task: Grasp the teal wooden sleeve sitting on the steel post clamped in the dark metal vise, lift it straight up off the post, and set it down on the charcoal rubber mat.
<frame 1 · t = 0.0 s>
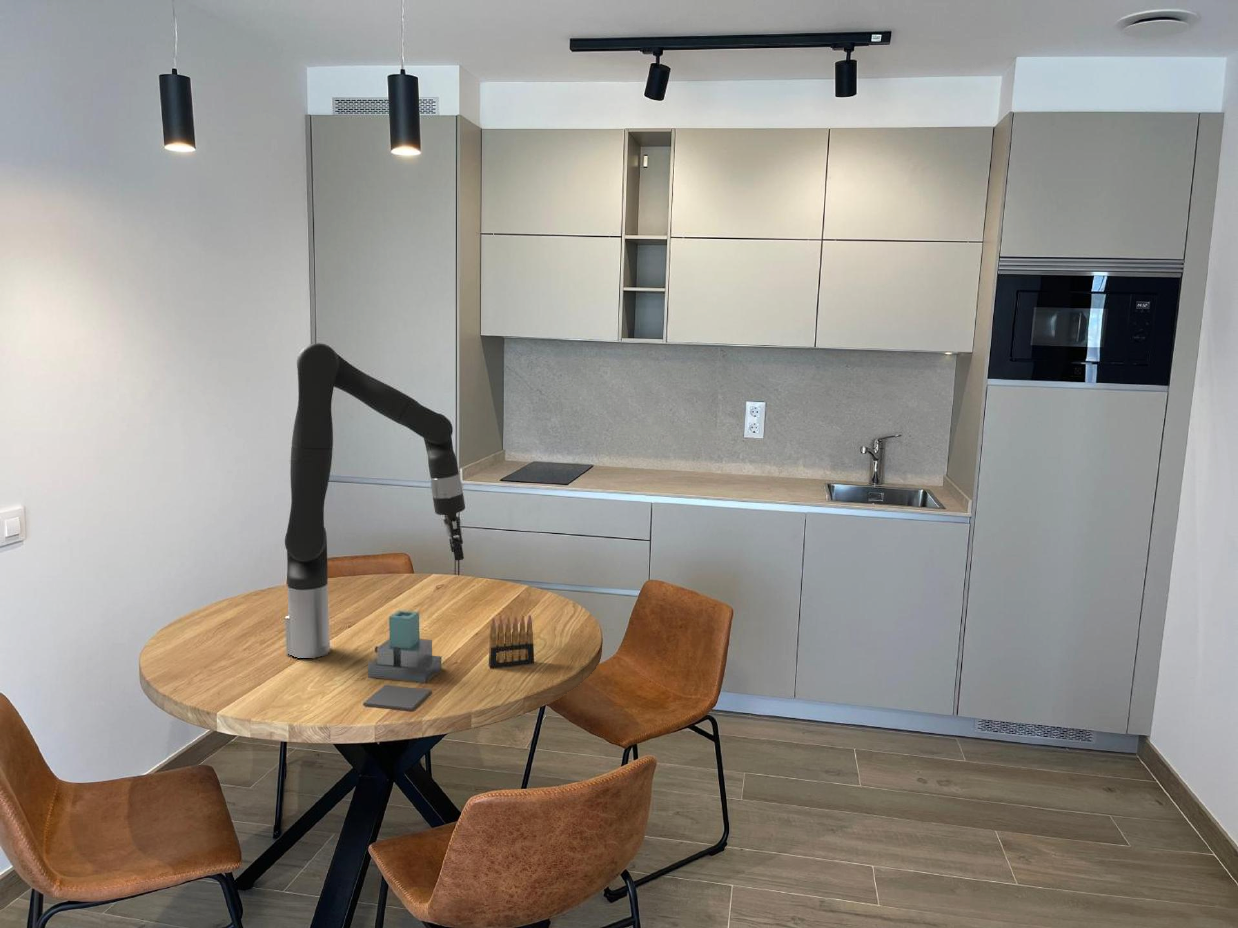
hand: (457, 555, 225), 22 cm above the table, tool pointing down, fingers open, 8 cm apart
sleeve: (404, 643, 205), point 7 cm above the table, touching vise
vise: (405, 672, 206), on the table
mat: (398, 698, 191), on the table
ammunition clip: (511, 665, 212), on the table
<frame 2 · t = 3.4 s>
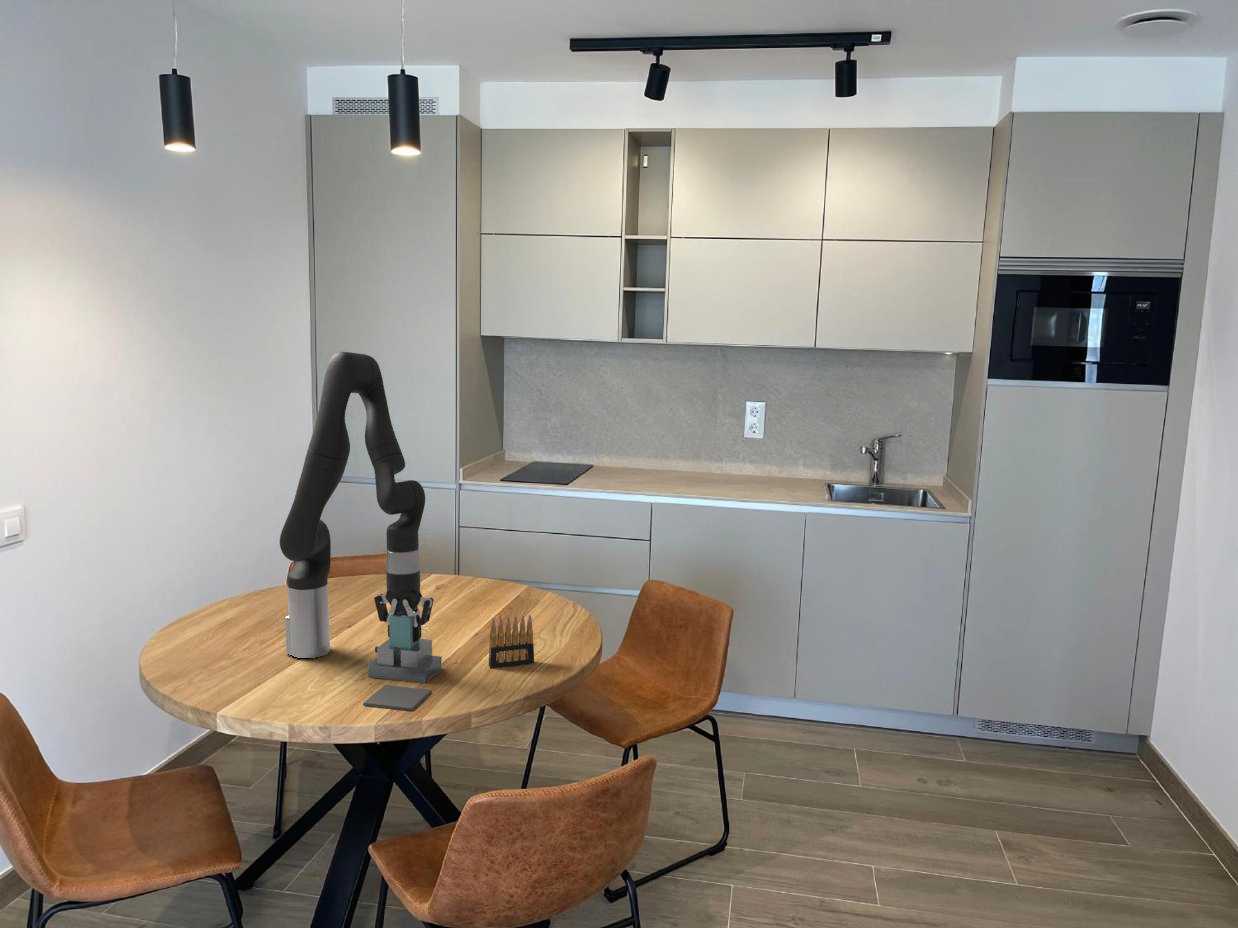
hand: (404, 639, 205), 8 cm above the table, tool pointing down, fingers closed on sleeve, 5 cm apart
sleeve: (404, 643, 205), point 7 cm above the table, touching gripper, vise
everything else where it was.
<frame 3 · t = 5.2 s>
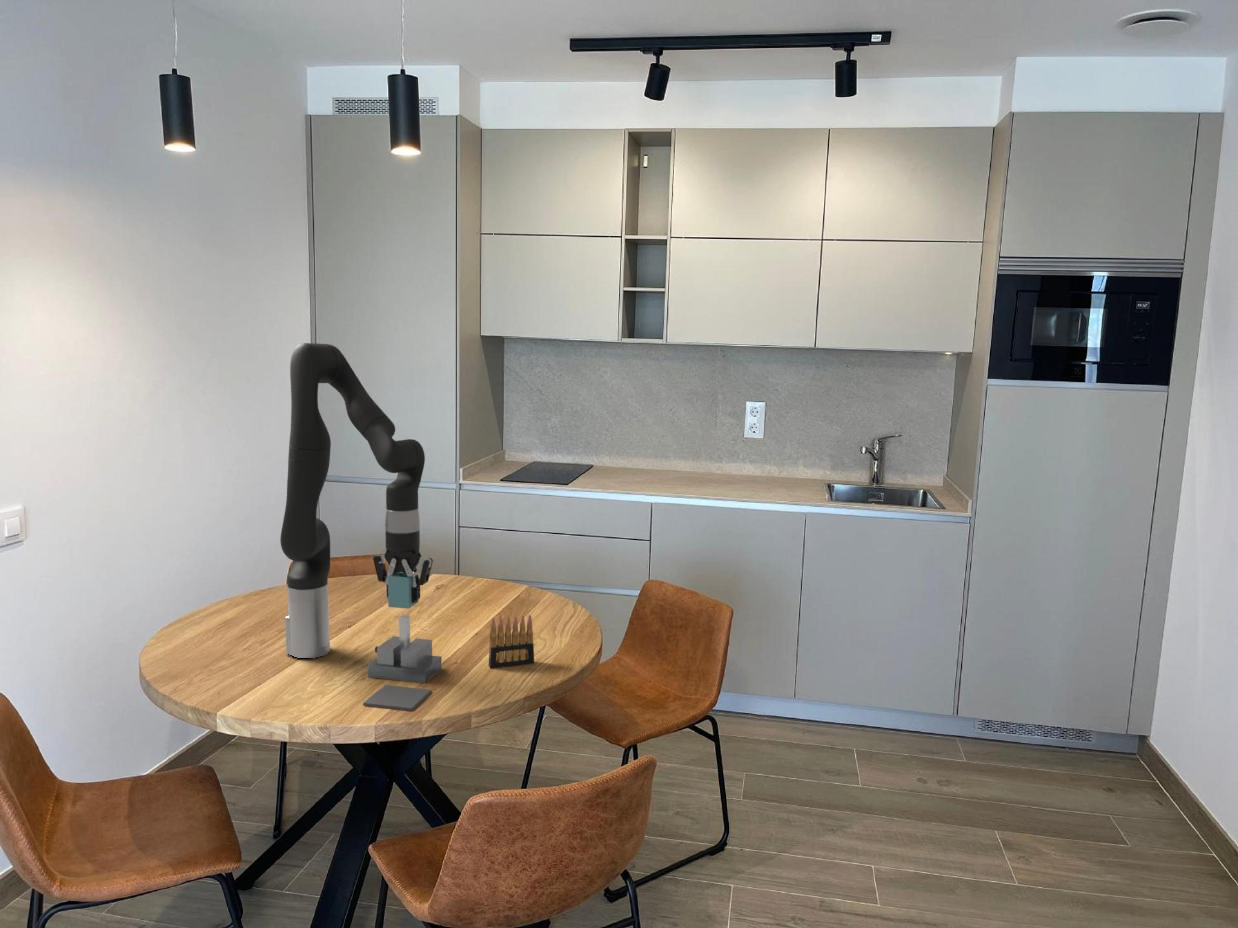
hand: (403, 600, 203), 17 cm above the table, tool pointing down, fingers closed on sleeve, 5 cm apart
sleeve: (403, 604, 204), point 16 cm above the table, touching gripper
everything else where it was.
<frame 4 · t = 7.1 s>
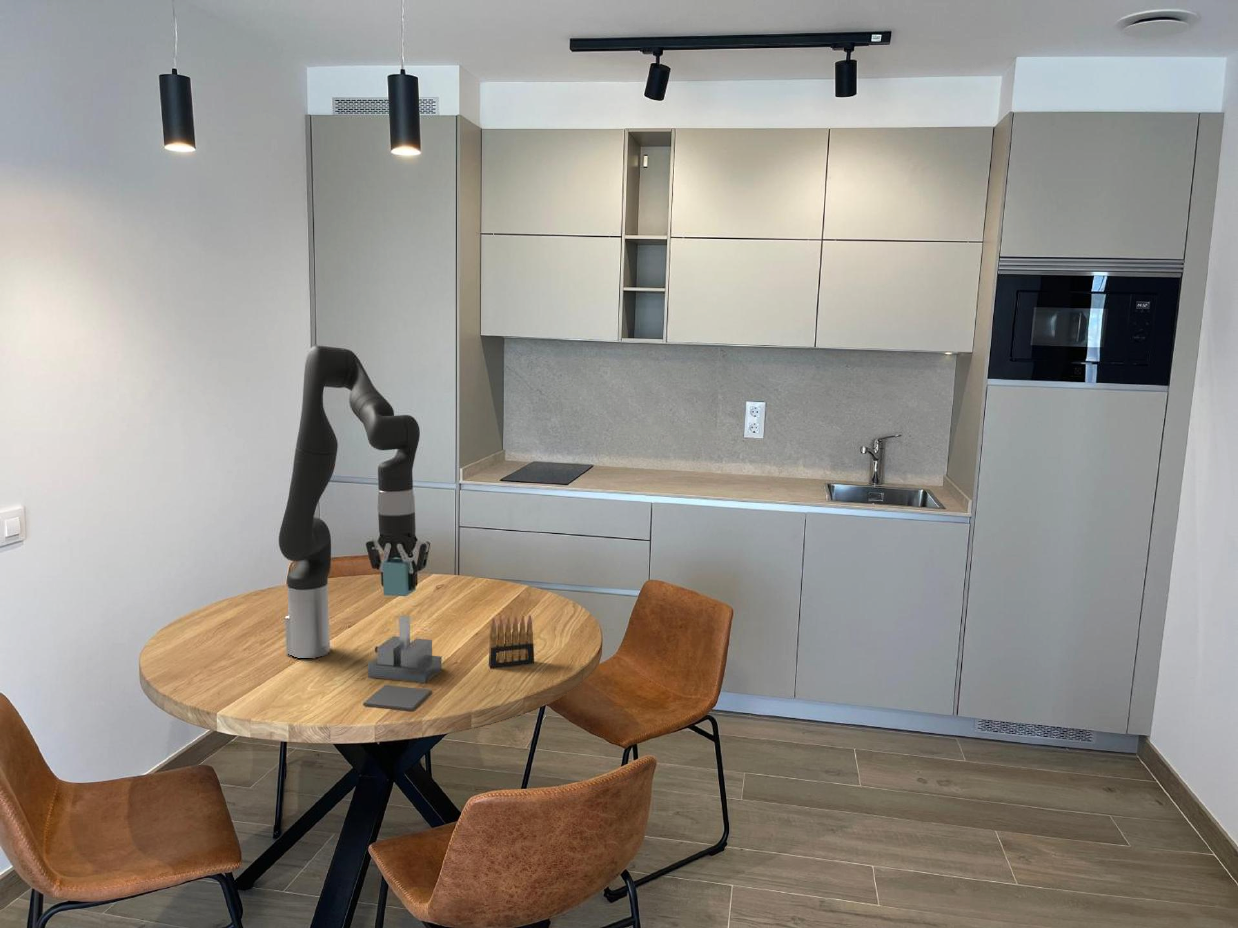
hand: (399, 588, 190), 24 cm above the table, tool pointing down, fingers closed on sleeve, 5 cm apart
sleeve: (399, 592, 190), point 23 cm above the table, touching gripper
everything else where it was.
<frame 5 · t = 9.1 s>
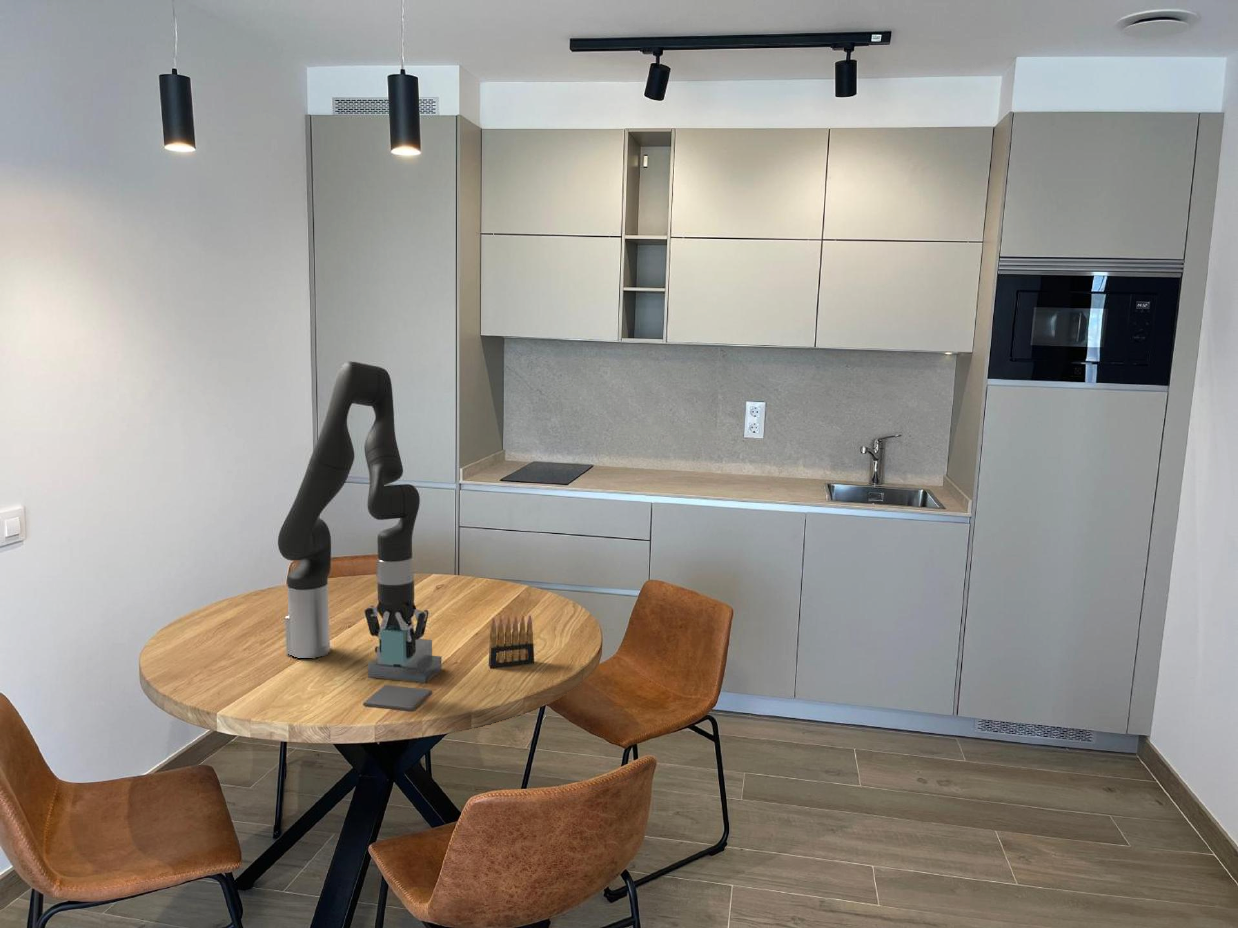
hand: (397, 655, 190), 10 cm above the table, tool pointing down, fingers closed on sleeve, 5 cm apart
sleeve: (397, 659, 190), point 9 cm above the table, touching gripper
everything else where it was.
when the fingers open (3 cm above the table, at t = 10.9 s): sleeve drops 2 cm, resting on mat.
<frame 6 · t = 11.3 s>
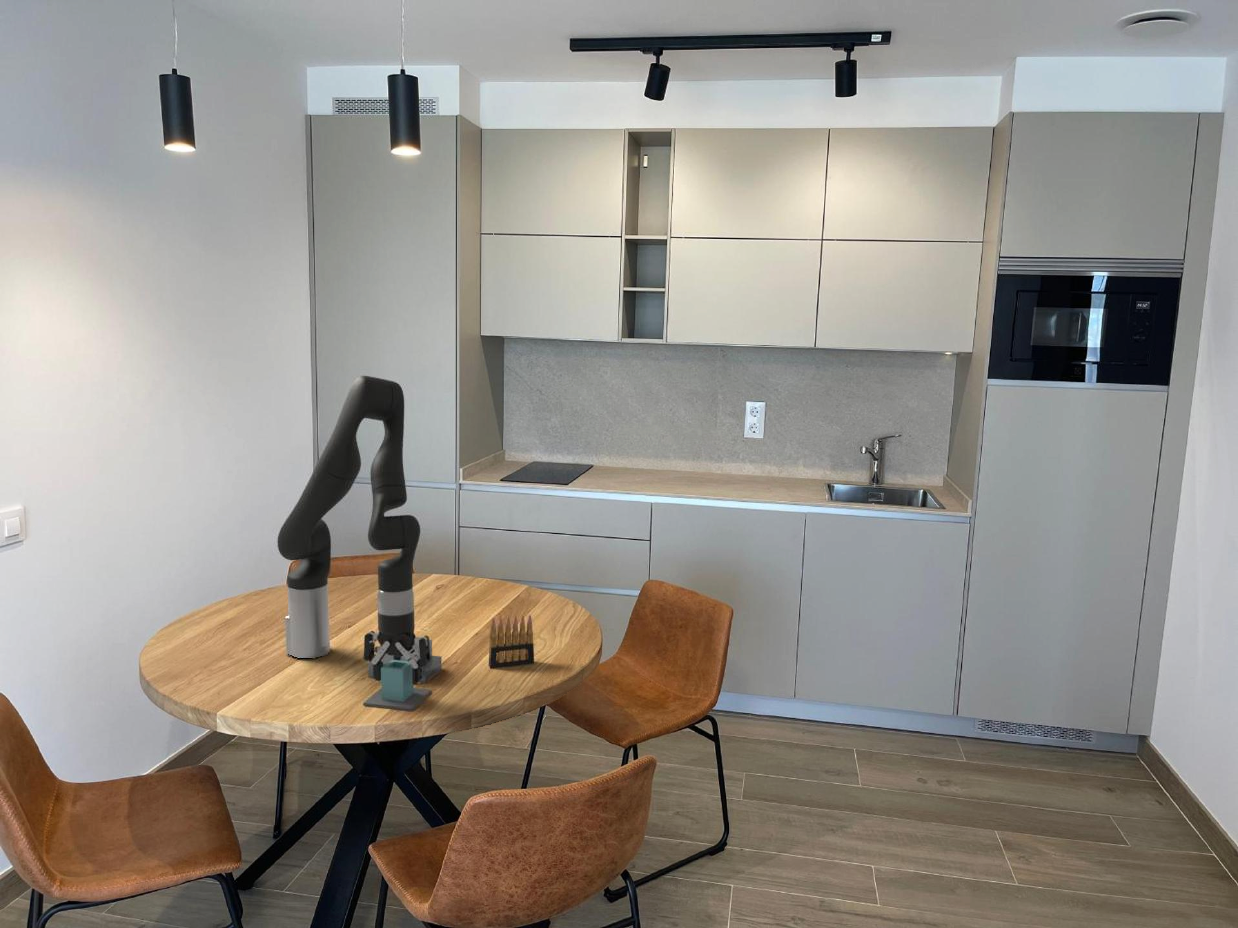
hand: (397, 681, 191), 4 cm above the table, tool pointing down, fingers open, 8 cm apart
sleeve: (397, 695, 191), point 1 cm above the table, touching mat
everything else where it was.
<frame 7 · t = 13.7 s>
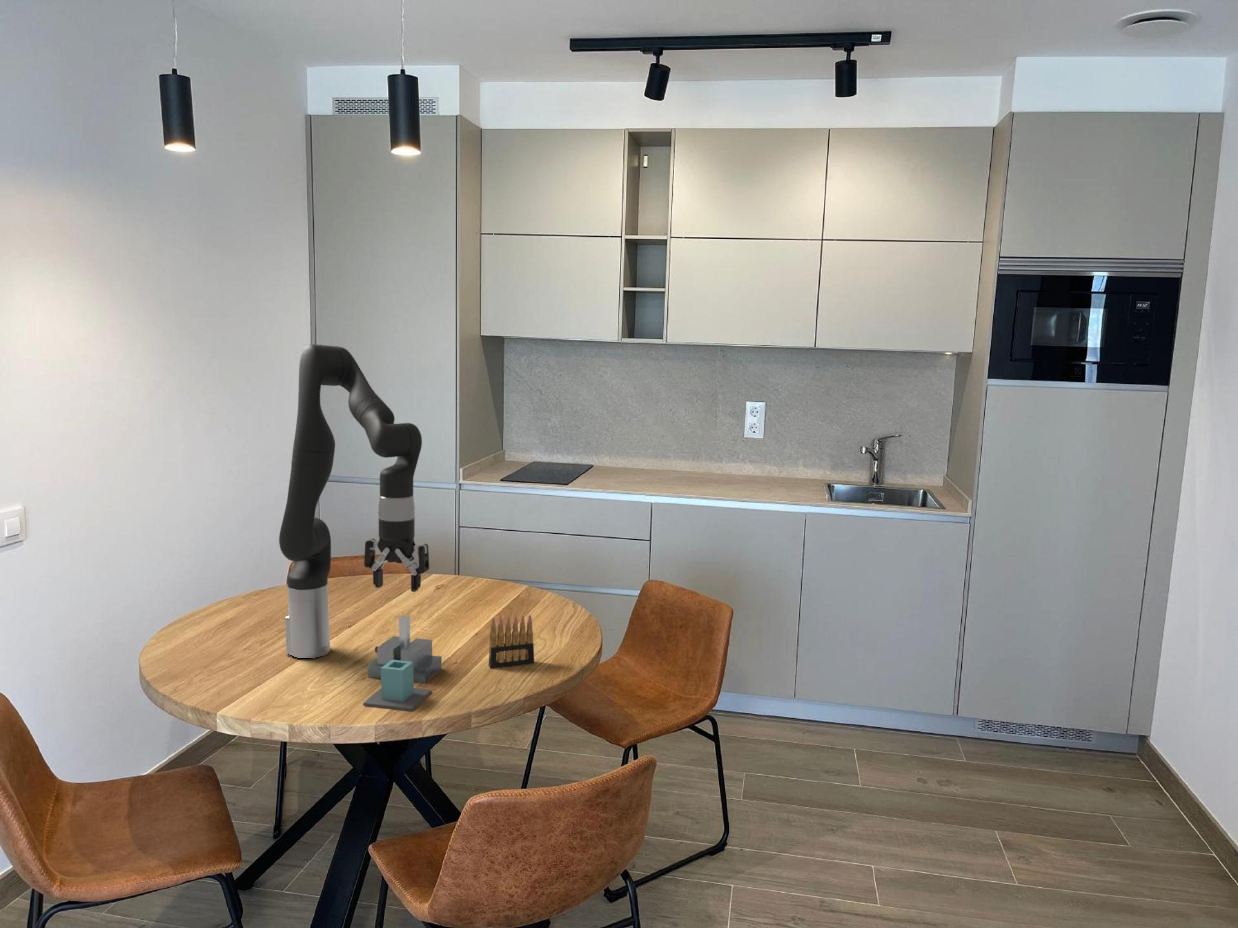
hand: (396, 588, 194), 23 cm above the table, tool pointing down, fingers open, 8 cm apart
nothing on the table moved.
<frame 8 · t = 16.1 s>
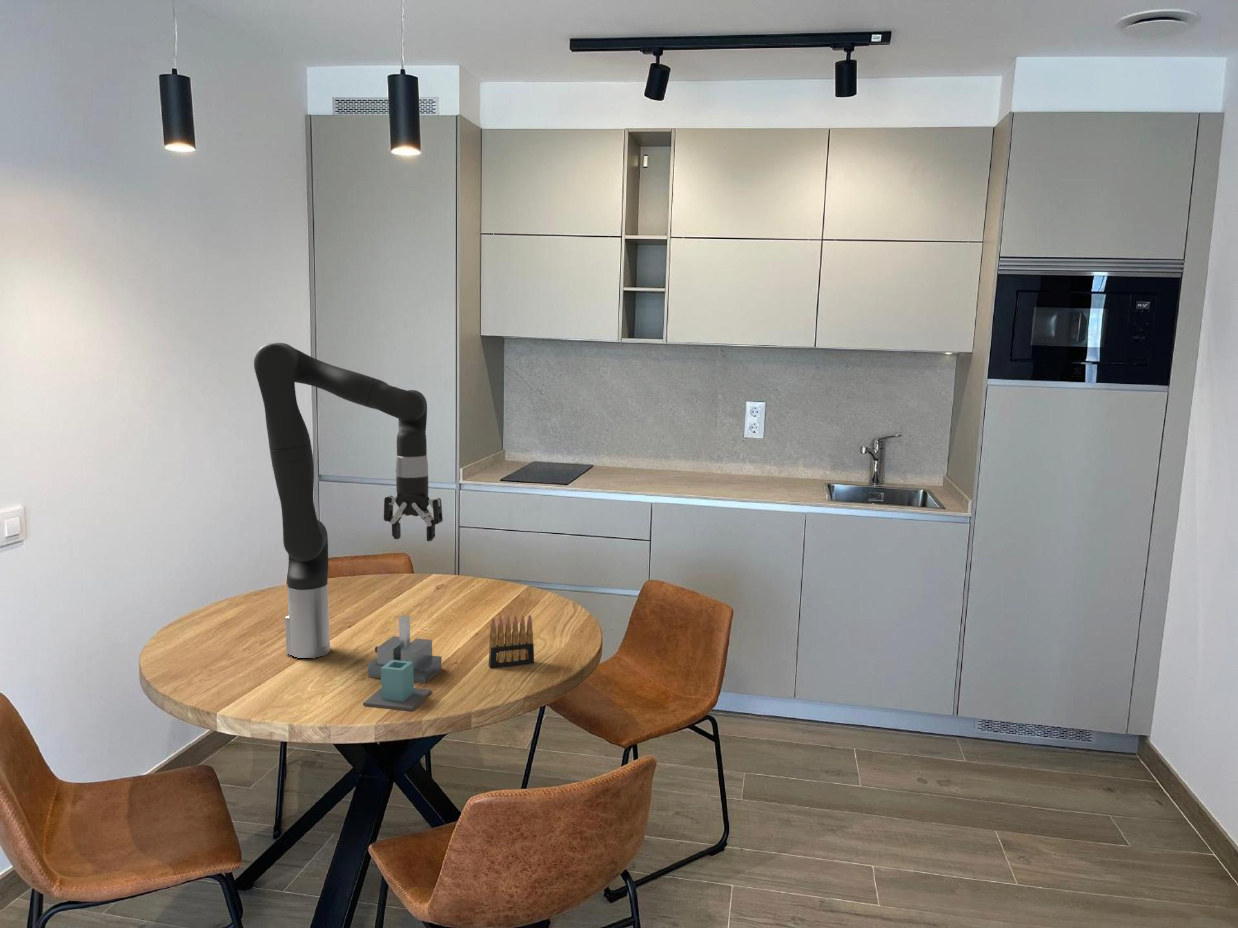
hand: (413, 539, 216), 28 cm above the table, tool pointing down, fingers open, 8 cm apart
nothing on the table moved.
at the end: sleeve inside the target area on the mat (0.0 cm from its centre), point 0.6 cm above the mat's base; sleeve tilted 0°; the gripper is holding nothing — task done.
